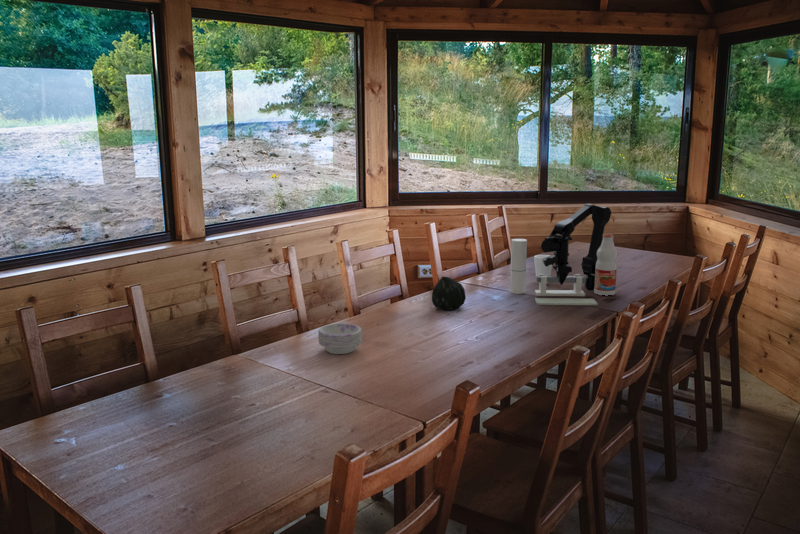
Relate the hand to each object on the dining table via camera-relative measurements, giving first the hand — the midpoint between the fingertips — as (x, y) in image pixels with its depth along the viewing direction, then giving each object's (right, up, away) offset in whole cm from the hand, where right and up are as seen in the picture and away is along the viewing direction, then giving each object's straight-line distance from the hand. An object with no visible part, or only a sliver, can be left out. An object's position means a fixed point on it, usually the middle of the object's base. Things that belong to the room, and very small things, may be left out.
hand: (560, 283), depth 292 cm
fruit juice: (+21, -5, +2) cm, 22 cm away
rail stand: (0, -5, +1) cm, 5 cm away
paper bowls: (-95, -22, -69) cm, 120 cm away
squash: (-53, -10, -19) cm, 58 cm away
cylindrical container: (-19, -4, +6) cm, 20 cm away
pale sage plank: (-1, -8, -13) cm, 15 cm away
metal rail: (0, +1, 0) cm, 1 cm away
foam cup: (-3, 0, +25) cm, 25 cm away
